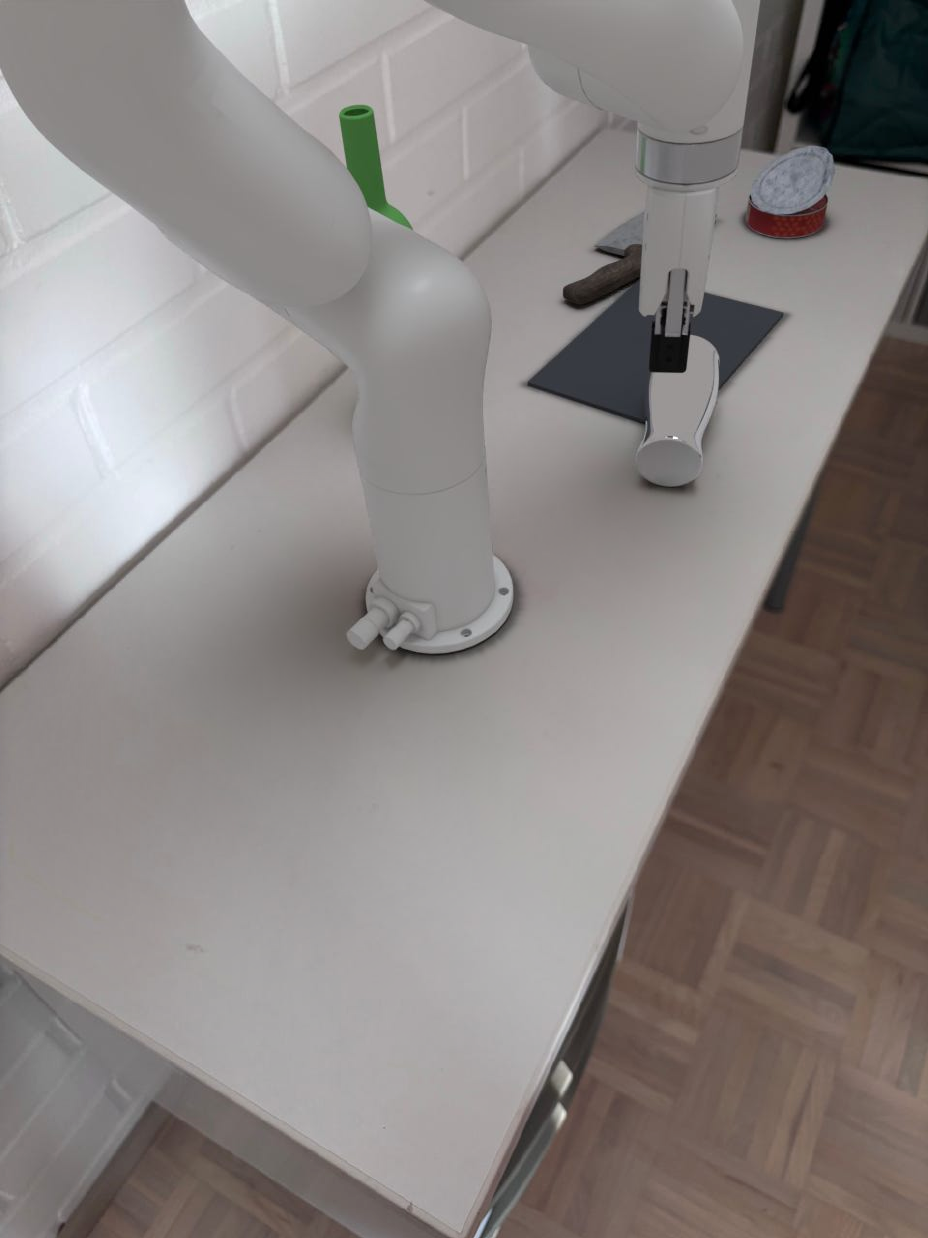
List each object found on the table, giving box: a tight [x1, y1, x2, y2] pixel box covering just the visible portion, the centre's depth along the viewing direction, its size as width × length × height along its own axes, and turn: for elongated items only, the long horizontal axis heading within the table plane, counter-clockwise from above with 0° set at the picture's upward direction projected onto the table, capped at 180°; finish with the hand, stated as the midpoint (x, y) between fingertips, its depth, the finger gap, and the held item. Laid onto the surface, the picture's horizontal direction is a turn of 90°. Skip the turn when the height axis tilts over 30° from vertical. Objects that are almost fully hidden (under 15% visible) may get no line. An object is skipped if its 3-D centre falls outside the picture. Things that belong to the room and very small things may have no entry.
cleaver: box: [562, 212, 718, 305], centre depth 120 cm, size 29×10×2 cm, turn 141°
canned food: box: [744, 145, 836, 240], centre depth 121 cm, size 11×10×10 cm
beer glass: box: [634, 335, 720, 488], centre depth 91 cm, size 7×7×15 cm
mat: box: [527, 278, 784, 424], centre depth 105 cm, size 26×18×1 cm
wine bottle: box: [338, 104, 415, 391], centre depth 89 cm, size 8×8×30 cm
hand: (667, 367), depth 83 cm, fingers closed
